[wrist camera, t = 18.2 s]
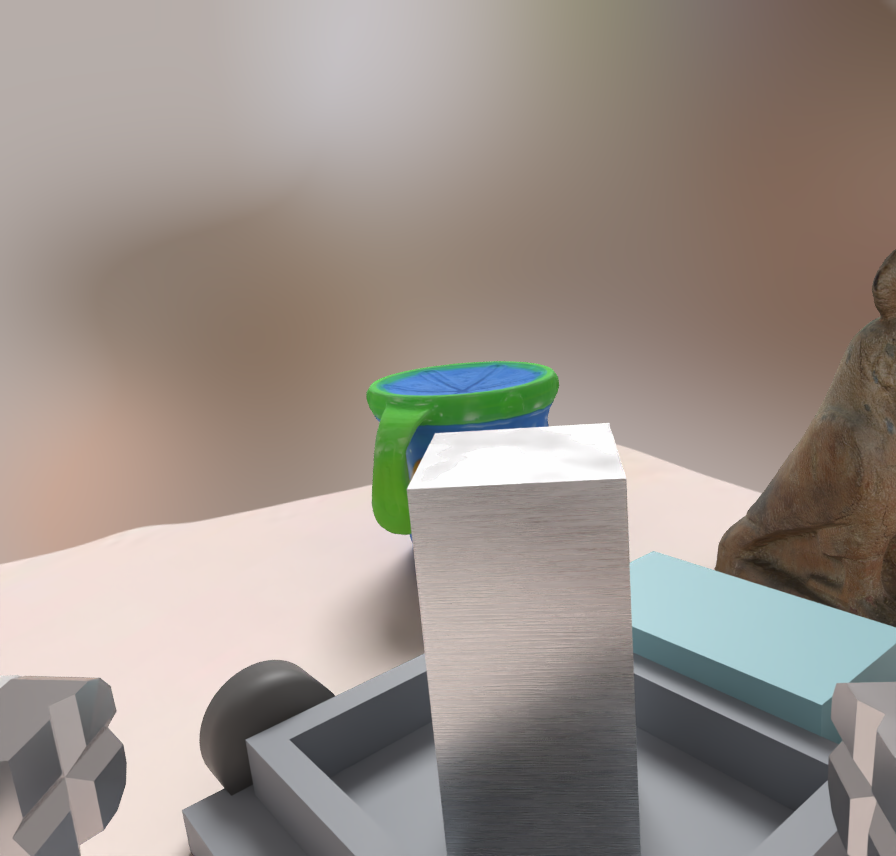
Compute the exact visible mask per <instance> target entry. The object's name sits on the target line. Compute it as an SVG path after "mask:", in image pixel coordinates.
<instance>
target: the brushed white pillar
mask: <svg viewBox="0 0 896 856" xmlns="http://www.w3.org/2000/svg"><path fill="white" fill-rule="evenodd" d="M407 496H408V505H409V514H410V523H411V532H412V541H413V551H414V560H415V569H416V578H417V587H418V596H419V605H420V614H421V623H422V632H423V641H424V651H425V660H426V669H427V678H428V687H429V696H430V705H431V714H432V723H433V732H434V741H435V751H436V760H437V769H438V778H439V787H440V796H441V805H442V814H443V823H444V832H445V841H446V851H447V856H641V845H640V820H639V794H638V768H637V743H636V717H635V691H634V666H633V640H632V614H631V589H630V563H629V537H628V512H627V486H626V476H625V473H624V470H623V466H622V463H621V460H620V457H619V454H618V451H617V447H616V444H615V441H614V438H613V435H612V432H611V428H610V426H609V423H601V424H584V425H568V426H551V427H533V428H516V429H500V430H483V431H466V432H449V433H435V435H434V437H433V439H432V441H431V443H430V444H429V446H428V448H427V450H426V452H425V454H424V456H423V458H422V460H421V462H420V464H419V466H418V468H417V470H416V472H415V474H414V476H413V478H412V480H411V482H410V484H409V486H408V488H407Z"/></svg>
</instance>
